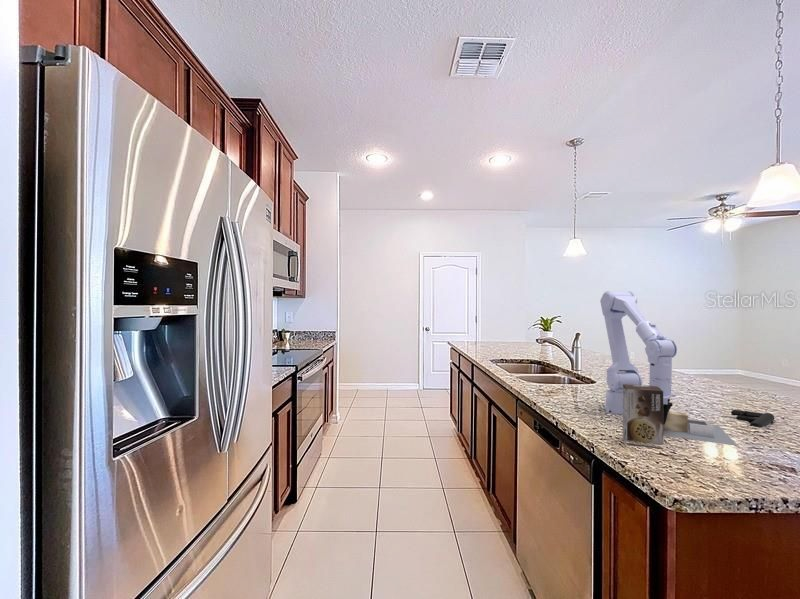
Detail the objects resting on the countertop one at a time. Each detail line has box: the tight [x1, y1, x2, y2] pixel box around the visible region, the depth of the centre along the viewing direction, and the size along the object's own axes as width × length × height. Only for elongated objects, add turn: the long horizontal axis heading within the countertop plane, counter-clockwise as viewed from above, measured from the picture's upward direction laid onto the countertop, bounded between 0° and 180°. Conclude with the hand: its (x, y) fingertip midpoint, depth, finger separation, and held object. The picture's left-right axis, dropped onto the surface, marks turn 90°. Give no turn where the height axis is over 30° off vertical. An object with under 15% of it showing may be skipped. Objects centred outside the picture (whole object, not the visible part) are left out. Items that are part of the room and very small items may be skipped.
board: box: [663, 423, 739, 447], centre depth 122 cm, size 20×20×2 cm
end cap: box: [688, 418, 714, 438], centre depth 119 cm, size 6×6×3 cm
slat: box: [663, 410, 689, 433], centre depth 123 cm, size 14×3×5 cm, turn 64°
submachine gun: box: [722, 409, 777, 429], centre depth 136 cm, size 3×20×16 cm
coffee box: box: [622, 384, 665, 450], centre depth 113 cm, size 9×6×16 cm
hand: (659, 422), depth 123 cm, fingers closed on slat, 3 cm apart
